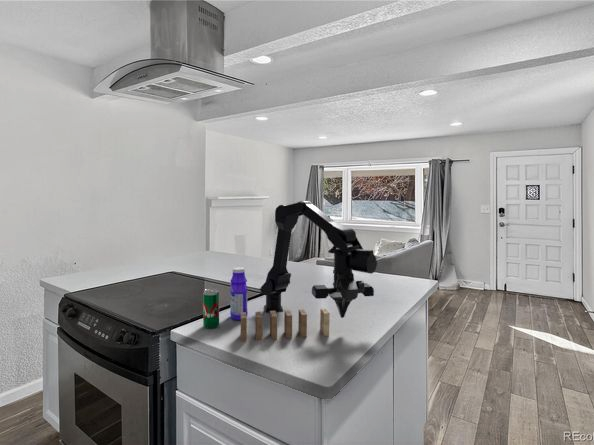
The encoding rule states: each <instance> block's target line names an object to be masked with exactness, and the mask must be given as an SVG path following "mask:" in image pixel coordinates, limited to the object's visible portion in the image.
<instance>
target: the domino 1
mask: <svg viewBox="0 0 594 445" xmlns="http://www.w3.org/2000/svg"><path fill="white" fill-rule="evenodd" d="M247 318H248V316H247V317H246V312H241V320H240V342H247V340H248V339H247V338H248V335H247V334H248V333H247V331H248V329H247V327H248V326H247V323H248V321H247V320H248V319H247Z"/></svg>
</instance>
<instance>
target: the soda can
mask: <svg viewBox="0 0 594 445" xmlns="http://www.w3.org/2000/svg"><path fill="white" fill-rule="evenodd" d="M202 317H203V318H202V319H203V320H202V325H203V327H204V329H209V330H212V329H216V328H218V327H219V326H220V292H219V290H218V289H217V288H205V289H204V291H203V293H202Z"/></svg>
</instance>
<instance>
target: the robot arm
mask: <svg viewBox="0 0 594 445" xmlns="http://www.w3.org/2000/svg"><path fill="white" fill-rule="evenodd" d="M274 213H275V214H274V222H275V224H276V226H277V236H276V241H275V247H274V248H275V249H274V254H273V255H274V257H273V263H272V267H271V268H270V270H268V272H267V275H266V279H265V282H264V283H263V284H262V286H260V288H259V289H260V290H259V291H260V294H261V295H264V296H265V305H264V306H263V307H264V311H265V312H269V313H270V311H275V312H283V311H284V309H283V306H282V293H285V292H286V291H287V288H288V287H289V285H290V284H291V277H292V273H291V272H289V270H288V268H287V267H288V266H287V265H288V259H289V252H290V245H291V238H292V232H293V229H294V228H295V227H296V225H297V223H298V220H299V218H300V216H304V217H306V218H307V219H308V220H309V221H311V222H312V223H313V224H314V225H315V226H317V227H318V228H319V229H321V230H322V231H323V233H324V234H325V235H326V239H328V241H329V242H330V243H331V244H332V245H333V246H332V247H331V248H330V249H329V250H328V253H329V254H333V270H332V274H333V282H332V287H327V286H326V285H325V284H315V285H313V286H311V287H312V288H311V294H312V296H313V297H314V299H317V300H319V299H327V298H328V297H330V298H331V299H332V300H333V301H334V303H335V305H336V307H337V311H338V314H339V316H340V317H339V318H343V319H344V318H345V316H346V313H347V311H348V308H349V306H350V304H351V302H352V301H353V300H356V299H357V298H358V296H359V294H362V295H363V296H364V297H375V288H374V287H373V286H372V285H370V283H367V282H366V283H365V281H364V280H355V275H354V273H353V271H354V272H360V273H365V274H371V275H372V274H373V273H375V271H376V269H377V265H378V260H377V258H376V255H375V254H374V250H372V249H364V248H363V246H362V244H361V243H360V241H359V240H358V237H357V235H356V234H357V233H356V231H355V230H354V229H353V228H352V227H349V226H347V225H345V224H342V223H340V222H337V221H335V220H334V219H332V218H330V216H328V215H327V214H326V213H324V212H323V211H322V210H321V209H319V208H318V207H317V206H315V205H314V203H313V202H311V201H310V200H300V201H298V202H296V203H290V204H279V205H278V206H277V207H276V208H275V210H274Z"/></svg>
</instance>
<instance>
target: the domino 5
mask: <svg viewBox="0 0 594 445" xmlns="http://www.w3.org/2000/svg"><path fill="white" fill-rule="evenodd" d="M297 322H298V325H297V326H298V332H299V335H300V337H301V338H307V337H308V331H307V330H308V314H307V312H306V311H305V309H303V308H302V309H300V308H299V309H298V321H297Z"/></svg>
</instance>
